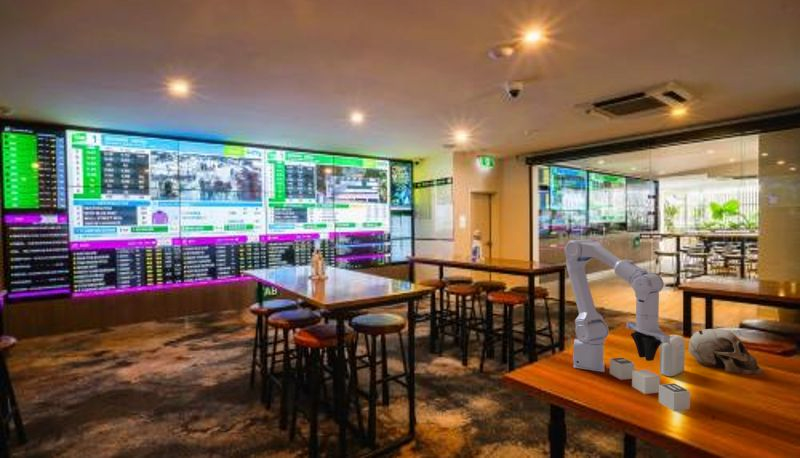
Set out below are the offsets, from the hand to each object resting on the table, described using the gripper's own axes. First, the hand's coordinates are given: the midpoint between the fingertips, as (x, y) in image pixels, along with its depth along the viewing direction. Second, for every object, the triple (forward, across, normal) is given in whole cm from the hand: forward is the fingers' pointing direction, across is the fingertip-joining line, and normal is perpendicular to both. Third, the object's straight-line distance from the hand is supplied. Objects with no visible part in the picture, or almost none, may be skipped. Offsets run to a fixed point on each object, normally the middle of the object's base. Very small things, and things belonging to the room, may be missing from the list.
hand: (646, 358), depth 120 cm
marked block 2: (+10, -10, 0) cm, 14 cm away
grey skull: (+10, +10, -40) cm, 42 cm away
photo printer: (+10, +9, -18) cm, 22 cm away
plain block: (+10, 0, 0) cm, 10 cm away
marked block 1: (+10, +10, 0) cm, 14 cm away
